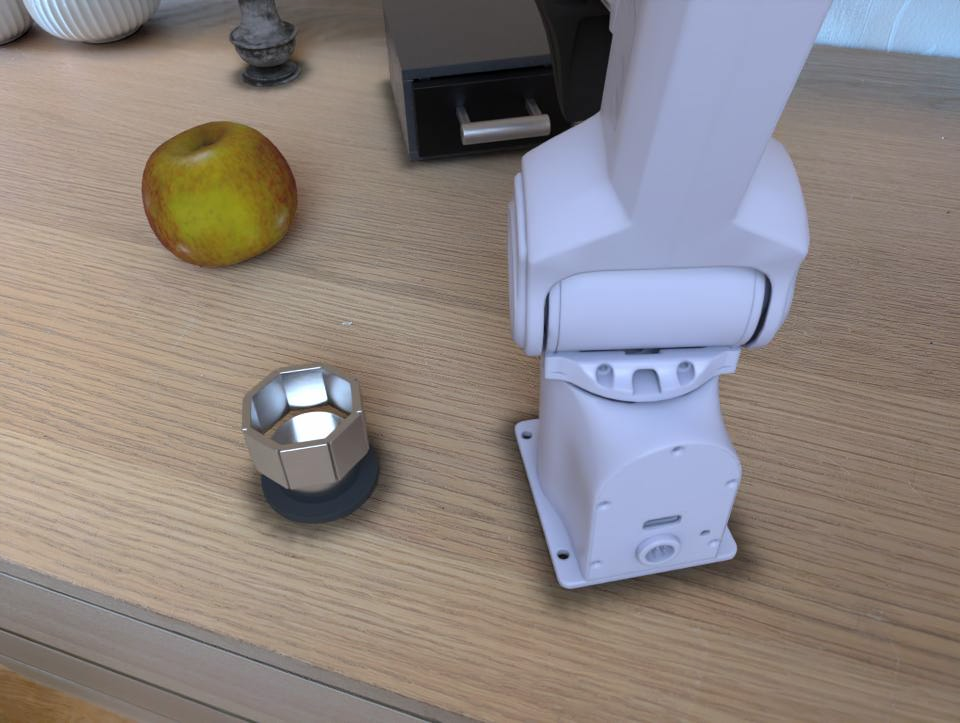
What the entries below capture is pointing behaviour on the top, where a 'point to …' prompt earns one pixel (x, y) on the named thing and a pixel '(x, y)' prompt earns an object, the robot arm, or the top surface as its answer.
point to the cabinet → (458, 46)
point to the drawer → (486, 110)
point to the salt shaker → (265, 44)
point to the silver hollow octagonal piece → (307, 431)
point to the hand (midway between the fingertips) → (581, 115)
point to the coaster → (328, 509)
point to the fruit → (218, 194)
